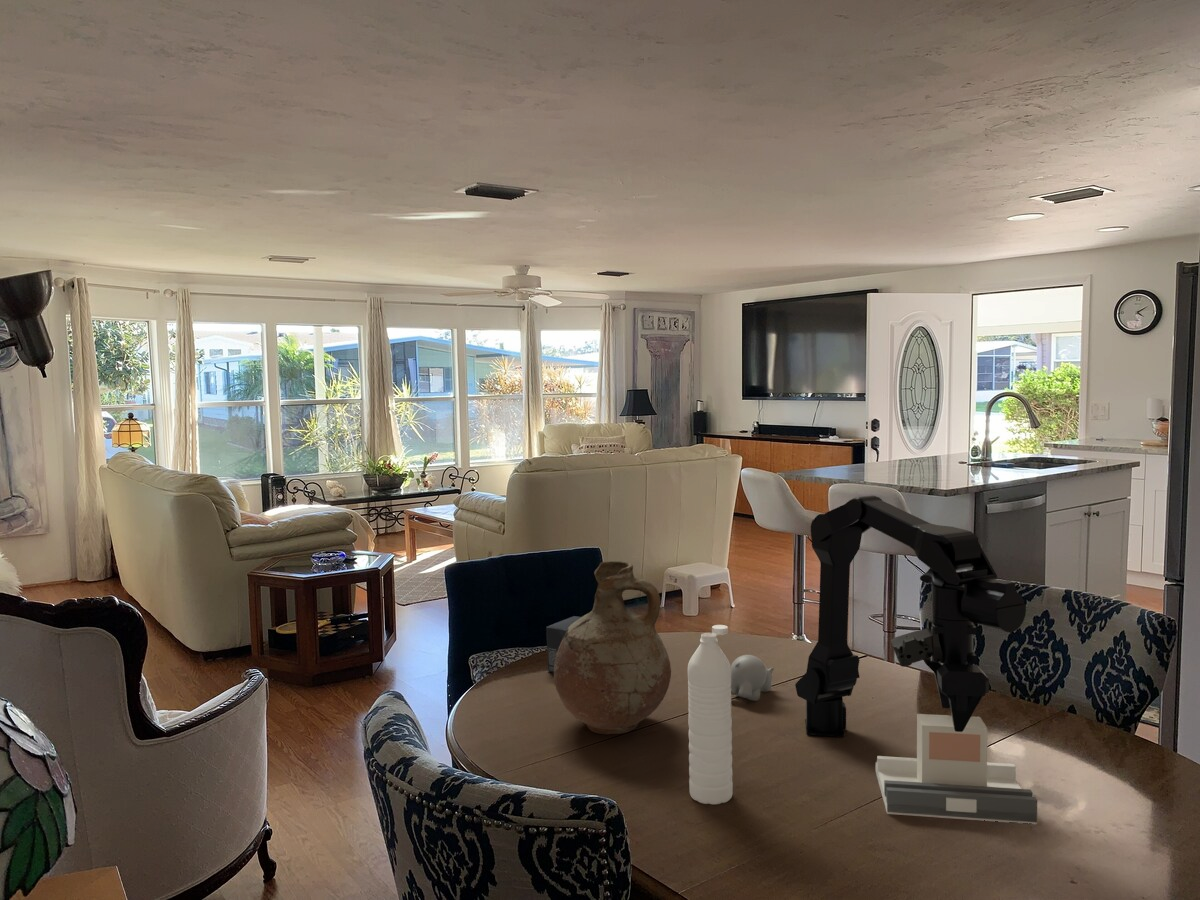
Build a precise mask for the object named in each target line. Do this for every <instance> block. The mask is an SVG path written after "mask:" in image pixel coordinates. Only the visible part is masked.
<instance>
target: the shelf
mask: <svg viewBox="0 0 1200 900" xmlns="http://www.w3.org/2000/svg"><path fill="white" fill-rule="evenodd" d="M1016 769H1017V767H1016V765H1015V764H1014V763H1007V762H1006V763H1005V762H989V761H987V787H984V786H968V785H952V784H937V783H921V782H918V779H917V757H904V756H902V757H901V756H899V757H898V756H888V755H887V756H885V755H884V756H883V755H877V757H876V761H875V774H876V779H877V782H878V786H879V789H880V793H881V795H882V800H883V804H884V807H885V811H886V814H887V815H899V816H900V815H901V816H914V817H924V818H925V817H926V818H927V817H929V818H941V819H942V818H943V819H955V820H956V819H957V820H966V821H967V820H969V821H970V820H971V821H981V822H982V821H984V820H985V821H986V822H995V821H998V823H1009V822H1018V823H1017V824H1023V823H1028V824H1027V825H1030V824H1029V823H1032V824H1031V825H1038V799H1037V797H1036V796H1033V795H1034V794H1033V791H1032V790H1031V789H1029V788H1022V787H1021V786H1020V784H1019V783H1018V781H1017V780H1016V779H1017V777H1016V776H1017V775H1016V772H1017V771H1016ZM985 821H984V822H985ZM1033 823H1034V824H1033Z"/></svg>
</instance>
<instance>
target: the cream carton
mask: <svg viewBox="0 0 1200 900" xmlns="http://www.w3.org/2000/svg"><path fill="white" fill-rule="evenodd" d="M916 758H917V779H918V782H921V783H937V784H952V785H968V786H984V787H987V762H988V726H986V724H985V722H984V721H983V719H982V718H981V716H971V717H970V719H969V721H968V723H967V725H966V727H965V729H964V730H963V732H956V731H955V730H954V726H953V721H952V715H951V714H949V715H947V714H929V713H928V714H925V713H917V714H916Z"/></svg>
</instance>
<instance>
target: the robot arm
mask: <svg viewBox="0 0 1200 900" xmlns="http://www.w3.org/2000/svg"><path fill="white" fill-rule="evenodd" d="M871 528H873V529H874V530H877V532H878V531H879V532H880V533H882V534H884V535H886V536H888V537H890V538H892V539H894V540H896V541H898V542H899V543H900V544H903V545H906V546H907V547H909V548H910V549H911V550H913V552H914V553H915V555H916V558H917V559H918V560H919V561H920V562H922V563H923V564H924V565H925V566H927V567H928V568H929V569H928V570H927V571H926V572H924V573H923V574H922V575H920V577H919V580H920V582H925V583H929V584H931V617H929V618H928V620H926V628H923V629H920V630H915V631H911V632H908V633H905V634H902V635H898V636H895V637H893V638H891V639H890V643H891V646H892V649H893V651H894V653H895V654H894V655H895V656H896V658H897V661H898V664H899V665H900V666H901V667H904V668H905V667H908V666H911V665H912V664H915V663H919V662H920V661H923V662H924V664H925V665H926V666H927V667H928V668H929V669H931V671H933V675H934V678H935V684H936V687H937V691H938V696H939V700H940V705H941V708H942V709H950V713H951V714H950V715H951V716H952V721H953V726H954V730H955V731H956V732H963V730H964V729H965V727H966V725H967V723H968V721H969V719H970V717H971V716H972V715H973V714H974V711H975V710H976V709H977V707H978V705H979V703H980V702H981V701H982V699H983V697H985V696H986V694H988V693H989V692H990V679H989V677H988V676H987V675H986V673H985V672H984V671H983V670H982V669H981V668H980V667H979V665H978V664H968V663H977V654H976V653H975V652H974V635H977V631H978V629H977V626H976V625H975V624H977V625H980V626H983V627H988V628H991V629H994V630H998V631H1001V632H1005V633H1014V632H1015V631H1017V630H1018V629H1019V628H1020V627H1021V625H1023V623H1024V621H1025V619H1026V615H1027V614H1026V613H1027V606H1026V604H1025V602H1024V601H1025V600H1024V599H1023V597H1022V595H1021V594H1020V593H1019V592H1017V591H1016V583H1015V582H1013V581H1009V580H999V579H998V575H997V573H996V571H995V569H994V567H993V565H991V563H990V561H989V559H988V557H987V555H986V553H985V552H984V550H983V548H982V546H981V544H980V542H979V537H978V536H977V535H976V533H974V532H972V531H971V530H967V529H963V528H959V527H955V526H951V525H950V526H948V525H942V524H934V523H931V522H928V521H926V520H924V519H921V518H920V517H918V516H915V515H913V514H911V513H909V512H907V511H905V510H903V509H901V508H899V507H896V506H894V505H892V504H890V503H888V502H886V501H884V500H883V499H882V498H880V497H879V496H876V495H865V496H862V495H861V496H855V497H853V498H852V499H849V500H848V501H846V502H845V503H844V504H843V505H840V506H838V507H836V508H833V509H831V510H829V511H827V512H825V513H819V514H818V515H816V516H815V517H814V518H813V519H812V520H811V523H810V538H811V547H812V550H813V551H814V553H815V555H816V557H817V558H818V560H819V562H820V563H819V564H820V567H819V571H820V572H819V599H818V600H819V601H818V602H819V603H818V604H819V605H818V628H817V629H818V634H817V635H818V636H817V641H816V642H817V643H815V646H814V647H813V648H812V651H811V652H810V654H809V655H808V658H807V659H808V660H807V666H806V671H805V673H804V674H803V675H802V676H801V678H799V679H798V680H797V682H795V685H794V686H795V690H796V694H797V697H799V698H801V699H803V700H804V701H805V719H804V724H805V732H806V733H805V734H806V735H807V736H822V737H823V736H824V737H825V736H826V737H839V738H841V737H842V738H843V737H845V731H846V730H847V705H846V703H845V701H844V699H843V697H851V696H852V693H853V689H854V687H855V686H856V684H857V681H858V679H860V673H859V664H860V657H859V655H856V654H853V651H852V650H851V647H850V646H849V644H848V631H849V630H848V629H849V606H850V605H849V604H850V603H849V601H850V579H851V578H850V573H851V572H850V571H851V563H852V561H853V560H854V559H855V557H856V555H857V554H858V551H859V550H860V548H861V542H862V536H863V534H864V533H865V532H867V531H869V530H870V529H871ZM962 570H963V571H962ZM997 579H998V580H997ZM972 717H973V716H972Z"/></svg>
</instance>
